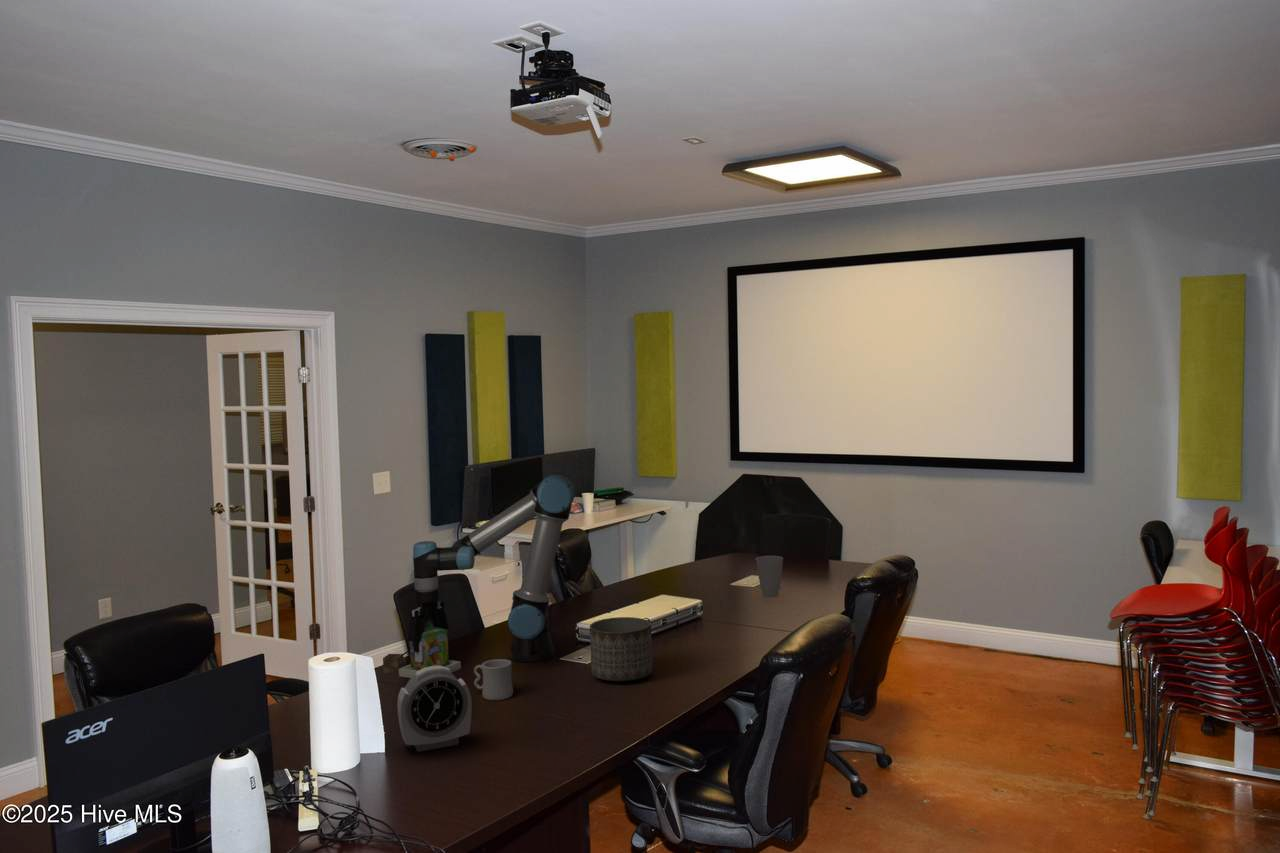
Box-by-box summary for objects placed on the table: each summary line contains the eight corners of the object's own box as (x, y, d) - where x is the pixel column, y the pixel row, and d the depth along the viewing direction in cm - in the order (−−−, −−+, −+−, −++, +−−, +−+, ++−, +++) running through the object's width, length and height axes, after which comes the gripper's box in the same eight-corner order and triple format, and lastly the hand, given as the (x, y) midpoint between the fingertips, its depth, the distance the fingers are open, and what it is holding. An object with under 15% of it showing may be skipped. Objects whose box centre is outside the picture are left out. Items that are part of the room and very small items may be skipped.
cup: (756, 597, 391) (754, 560, 391) (757, 591, 403) (756, 555, 402) (784, 597, 389) (783, 560, 389) (784, 591, 401) (783, 555, 400)
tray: (460, 668, 304) (460, 661, 304) (432, 681, 292) (432, 673, 292) (428, 664, 311) (427, 657, 310) (399, 676, 298) (398, 668, 298)
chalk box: (428, 671, 295) (426, 625, 294) (409, 666, 300) (407, 621, 299) (450, 663, 302) (448, 618, 302) (431, 659, 308) (429, 615, 307)
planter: (662, 670, 294) (660, 619, 294) (637, 688, 277) (635, 634, 276) (608, 664, 303) (606, 615, 302) (580, 682, 285) (578, 629, 284)
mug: (518, 692, 278) (517, 659, 277) (504, 702, 269) (503, 668, 269) (482, 689, 282) (480, 657, 281) (467, 699, 273) (465, 666, 273)
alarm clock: (403, 757, 231) (399, 677, 230) (398, 745, 238) (394, 668, 238) (474, 743, 238) (471, 666, 237) (467, 733, 245) (463, 658, 245)
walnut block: (404, 668, 307) (403, 653, 307) (397, 673, 302) (397, 658, 302) (389, 668, 307) (389, 653, 307) (383, 673, 303) (382, 658, 302)
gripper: (440, 581, 312) (443, 647, 312) (393, 595, 292) (397, 665, 293) (457, 583, 308) (460, 649, 309) (411, 597, 289) (415, 667, 289)
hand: (429, 657), depth 301 cm, fingers closed on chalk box, 9 cm apart
